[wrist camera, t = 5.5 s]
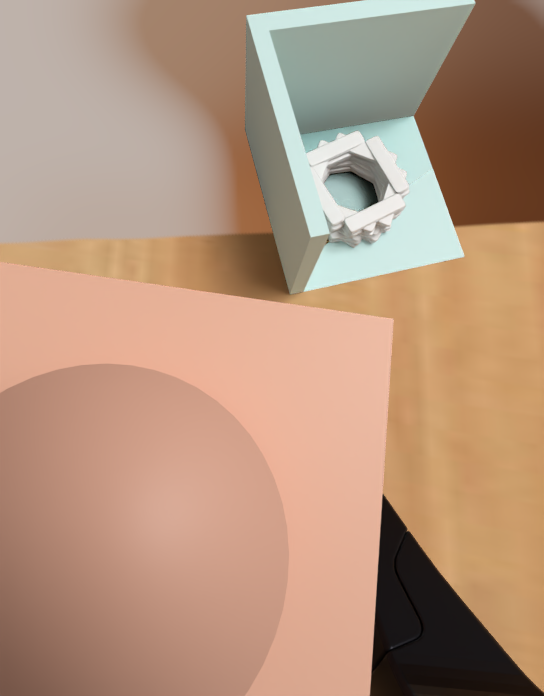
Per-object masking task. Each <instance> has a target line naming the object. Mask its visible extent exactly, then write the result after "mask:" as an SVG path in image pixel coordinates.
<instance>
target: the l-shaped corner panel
mask: <svg viewBox="0 0 544 696" xmlns="http://www.w3.org/2000/svg"><path fill="white" fill-rule="evenodd" d="M474 5H475V1H474V0H365V1H357V2H349V3H341V4H333V5H325V6H318V7H309V8H302V9H294V10H286V11H278V12H270V13H262V14H254V15H247V16H246V94H245V95H246V97H245V131H246V135H247V138H248V142H249V146H250V150H251V153H252V157H253V161H254V165H255V168H256V172H257V176H258V179H259V183H260V187H261V190H262V193H263V198H264V201H265V205H266V209H267V212H268V216H269V220H270V223H271V227H272V231H273V234H274V238H275V242H276V245H277V249H278V253H279V256H280V260H281V264H282V268H283V271H284V275H285V279H286V282H287V286H288V290H289V293H290V295H291V294H295V293H300V292H305V291H309V290H314V289H318V288H323V287H328V286H332V285H337V284H341V283H346V282H351V281H355V280H360V279H364V278H369V277H374V276H378V275H383V274H387V273H392V272H397V271H401V270H406V269H410V268H415V267H419V266H424V265H429V264H433V263H438V262H442V261H447V260H452V259H456V258H461V257H465V256H464V254H463V251H462V248H461V245H460V243H459V240H458V237H457V234H456V232H455V229H454V226H453V223H452V220H451V218H450V215H449V212H448V209H447V207H446V204H445V201H444V198H443V196H442V193H441V190H440V187H439V185H438V182H437V179H436V176H435V174H434V171H433V168H432V166H431V163H430V160H429V157H428V154H427V152H426V149H425V146H424V143H423V140H422V138H421V135H420V132H419V130H418V127H417V124H416V121H415V119H414V114H415V112H416V110H417V108H418V107H419V105H420V103H421V101H422V99H423V98H424V96H425V94H426V92H427V90H428V89H429V87H430V85H431V83H432V81H433V79H434V78H435V76H436V74H437V72H438V70H439V69H440V66H441V65H442V63H443V61H444V60H445V58H446V56H447V54H448V52H449V50H450V49H451V47H452V45H453V43H454V41H455V40H456V38H457V36H458V34H459V32H460V30H461V29H462V27H463V25H464V23H465V21H466V20H467V18H468V16H469V14H470V12H471V11H472V9H473V7H474ZM327 239H328V240H329V242H328V243H327V244H326V245H325V243H326V241H327Z"/></svg>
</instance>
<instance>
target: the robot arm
mask: <svg viewBox="0 0 544 696" xmlns="http://www.w3.org/2000/svg"><path fill="white" fill-rule="evenodd" d="M370 696H544V692H543V691H541V690H540V689H539V688H538V687H537V686H536V685H535V684H534V683H533V682H532V681H531V680H530V679H529V678H528V677H527V676H526V675H525V674H524V673H523V671H522V670H521V669H520V668H519V667H518V666H517V665H516V664H515V662H514V661H513V660H512V659H511V658H510V656H509V655H508V654H507V653H506V652H505V651H504V649H503V648H502V647H501V646H500V645H499V643H498V642H497V641H496V640H495V639H494V637H493V636H492V635H491V634H490V633H489V632H488V630H487V629H486V628H485V627H484V626H483V624H482V623H481V622H480V621H479V620H478V618H477V617H476V616H475V615H474V614H473V612H472V611H471V610H470V609H469V608H468V607H467V605H466V604H465V603H464V602H463V601H462V599H461V598H460V597H459V596H458V595H457V593H456V592H455V591H454V590H453V588H452V587H451V586H450V585H449V583H448V582H447V581H446V580H445V578H444V577H443V576H442V575H441V573H440V572H439V571H438V570H437V568H436V567H435V566H434V564H433V563H432V562H431V560H430V559H429V558H428V556H427V555H426V553H425V552H424V551H423V549H422V548H421V547H420V545H419V544H418V542H417V541H416V540H415V538H414V537H413V535H412V534H411V533H410V532H409V531H407V527H406V526H405V524H404V523H403V521H402V520H401V519H400V517H399V516H398V514H397V513H396V511H395V510H394V509H393V507H392V506H391V504H390V503H389V502H388V500H387V499H386V497H385V496H384V494H383V495H382V511H381V527H380V542H379V558H378V574H377V590H376V606H375V622H374V638H373V654H372V669H371V685H370Z"/></svg>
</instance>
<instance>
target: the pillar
mask: <svg viewBox="0 0 544 696" xmlns="http://www.w3.org/2000/svg"><path fill="white" fill-rule="evenodd" d="M393 320H394V319H391V318H384V317H377V316H370V315H363V314H356V313H349V312H342V311H335V310H328V309H322V308H315V307H308V306H301V305H294V304H287V303H280V302H273V301H266V300H259V299H253V298H246V297H239V296H232V295H225V294H218V293H211V292H204V291H197V290H190V289H184V288H177V287H170V286H163V285H156V284H149V283H142V282H135V281H128V280H121V279H115V278H108V277H101V276H94V275H87V274H80V273H73V272H66V271H59V270H52V269H46V268H39V267H32V266H25V265H18V264H11V263H4V262H0V696H370V685H371V669H372V654H373V638H374V622H375V606H376V590H377V574H378V558H379V542H380V527H381V511H382V495H383V479H384V463H385V447H386V431H387V416H388V400H389V384H390V368H391V352H392V336H393Z"/></svg>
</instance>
